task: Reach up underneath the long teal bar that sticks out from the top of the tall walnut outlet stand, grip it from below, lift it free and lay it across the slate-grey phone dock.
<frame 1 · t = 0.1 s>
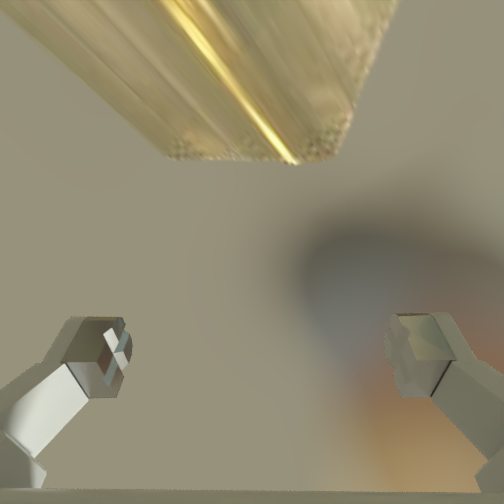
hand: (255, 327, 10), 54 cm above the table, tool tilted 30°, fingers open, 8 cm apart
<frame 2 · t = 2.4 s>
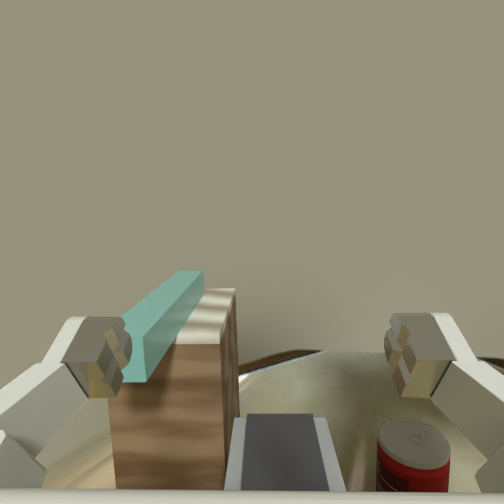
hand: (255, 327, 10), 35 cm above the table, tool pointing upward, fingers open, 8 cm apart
outlet stand: (192, 487, 46), on the table
long teal bar: (169, 323, 37), point 26 cm above the table, touching outlet stand
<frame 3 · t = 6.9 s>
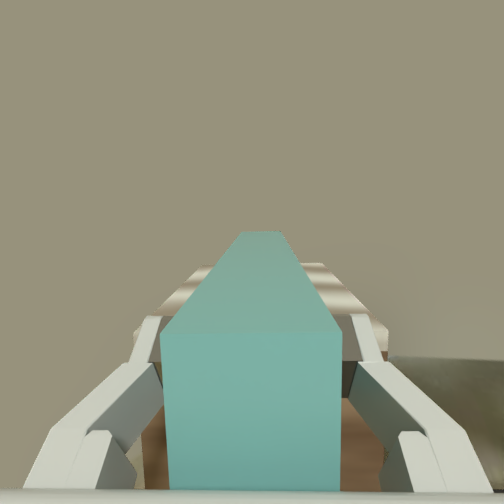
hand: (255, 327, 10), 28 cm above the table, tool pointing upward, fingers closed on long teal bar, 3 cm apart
long teal bar: (260, 310, 19), point 26 cm above the table, touching gripper, outlet stand
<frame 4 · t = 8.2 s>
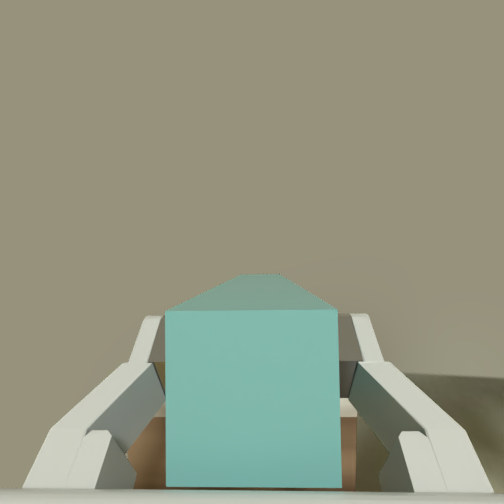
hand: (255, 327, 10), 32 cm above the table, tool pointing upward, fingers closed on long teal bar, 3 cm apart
long teal bar: (259, 343, 19), point 28 cm above the table, tilted 10°, touching gripper
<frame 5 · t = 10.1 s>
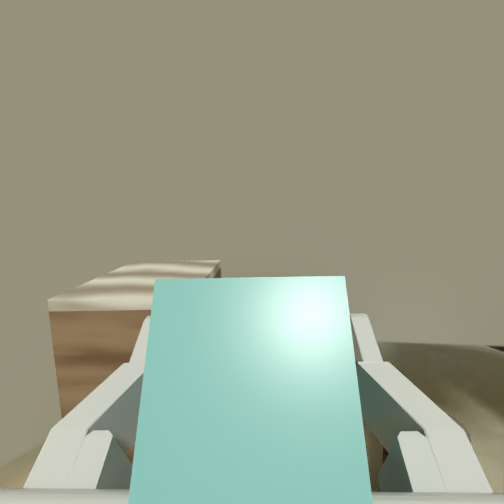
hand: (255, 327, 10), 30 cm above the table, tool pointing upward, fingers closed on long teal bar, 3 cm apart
outlet stand: (169, 486, 40), on the table
long teal bar: (261, 433, 16), point 23 cm above the table, tilted 32°, touching gripper
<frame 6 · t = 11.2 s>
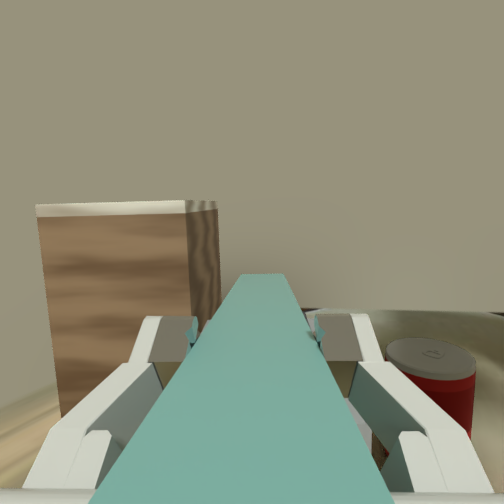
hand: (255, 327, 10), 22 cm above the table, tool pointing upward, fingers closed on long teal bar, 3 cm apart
outlet stand: (164, 427, 39), on the table
canned food: (423, 457, 34), on the table
long teal bar: (261, 374, 16), point 18 cm above the table, tilted 6°, touching gripper, phone dock
when the fingers open (19 cm above the table, at t = 12.2 s): long teal bar stays where it is, resting on phone dock.
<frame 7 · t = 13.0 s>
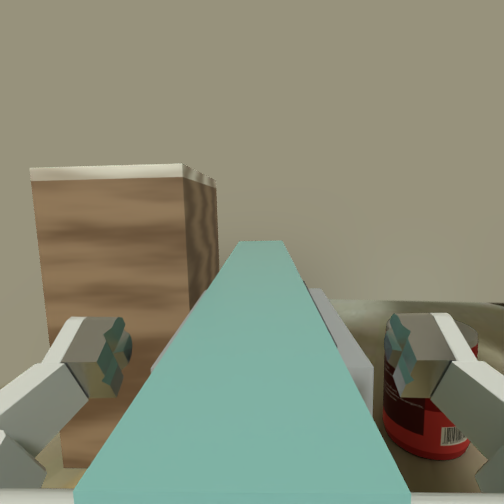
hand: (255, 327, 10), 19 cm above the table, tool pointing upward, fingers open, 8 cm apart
outlet stand: (161, 406, 38), on the table
canned food: (424, 435, 33), on the table
long teal bar: (259, 341, 16), point 16 cm above the table, touching phone dock
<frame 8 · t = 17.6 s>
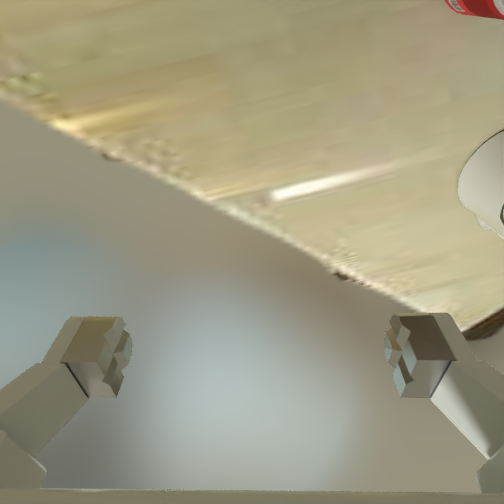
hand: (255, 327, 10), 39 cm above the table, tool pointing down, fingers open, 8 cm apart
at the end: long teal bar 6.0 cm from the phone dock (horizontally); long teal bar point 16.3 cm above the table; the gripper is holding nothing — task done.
